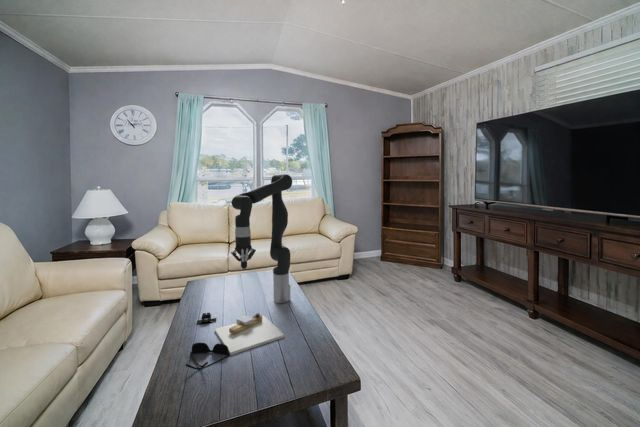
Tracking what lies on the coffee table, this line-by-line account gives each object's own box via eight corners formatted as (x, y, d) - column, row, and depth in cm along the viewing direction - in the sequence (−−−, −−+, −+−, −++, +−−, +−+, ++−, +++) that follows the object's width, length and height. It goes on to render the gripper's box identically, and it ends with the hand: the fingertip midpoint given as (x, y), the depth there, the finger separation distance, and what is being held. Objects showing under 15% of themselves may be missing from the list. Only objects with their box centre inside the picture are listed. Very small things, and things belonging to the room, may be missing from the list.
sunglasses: (173, 374, 112) (172, 361, 112) (192, 352, 127) (192, 340, 126) (216, 376, 111) (216, 363, 111) (231, 353, 125) (230, 342, 125)
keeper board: (263, 317, 157) (263, 307, 157) (284, 337, 138) (284, 325, 137) (214, 331, 143) (214, 320, 143) (230, 355, 124) (230, 342, 123)
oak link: (258, 317, 154) (257, 311, 153) (264, 319, 151) (263, 313, 151) (228, 332, 139) (228, 325, 139) (234, 335, 136) (234, 328, 136)
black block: (219, 317, 158) (219, 309, 158) (218, 324, 151) (218, 315, 151) (194, 321, 155) (194, 312, 155) (192, 327, 148) (191, 318, 148)
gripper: (252, 232, 158) (253, 264, 160) (227, 235, 151) (228, 268, 153) (258, 234, 152) (259, 268, 154) (232, 237, 144) (233, 272, 146)
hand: (244, 268), depth 153 cm, fingers closed
